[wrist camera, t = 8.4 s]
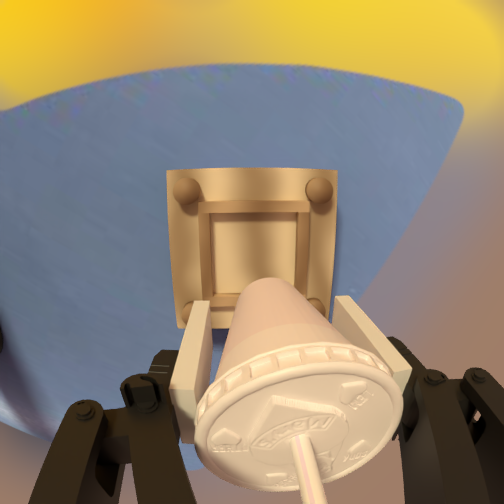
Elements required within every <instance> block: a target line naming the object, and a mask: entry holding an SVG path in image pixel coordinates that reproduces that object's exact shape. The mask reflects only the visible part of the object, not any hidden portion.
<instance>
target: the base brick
mask: <svg viewBox="0 0 504 504" xmlns="http://www.w3.org/2000/svg"><path fill="white" fill-rule="evenodd" d="M167 203H168V225H169V242H170V256H171V269H172V280H173V290H174V300H175V309H176V318H177V326H178V328H186V326H187V323H188V320H189V316H190V313H191V310H192V306H193V303H194V301H210V314H211V328H230V325H231V322H232V318H233V315H234V311H235V308H236V304H237V301H238V298H239V296H240V294H241V292H242V291H243V290H244V289H245V288H246V287H247V286H248V285H249V284H251V283H252V282H254V281H256V280H259V279H262V278H271V277H272V278H279V279H283V280H285V281H287V282H289V283H290V284H291V285H293V286H294V287H295V288H296V289H297V290H298V291H299V292H300V293H301V294H302V295H303V296H304V297H305V298H306V299H307V300H308V301H309V302H310V303H311V304H312V305H313V306H314V307H315V308H316V309H317V310H318V311H319V312H320V313H321V314H322V315H323V316H324V317H325V318H326V319H327V320H328V317H329V308H330V298H331V288H332V277H333V264H334V250H335V233H336V211H337V170H323V169H300V168H207V169H183V170H167Z"/></svg>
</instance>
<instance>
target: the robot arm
mask: <svg viewBox="0 0 504 504" xmlns="http://www.w3.org/2000/svg"><path fill="white" fill-rule="evenodd" d="M332 325H333V326H334V328H335V329H336V330H337V331H338V332H339V333H340V334H341V335H342V336H343V337H345V338H346V339H347V340H348V341H349V342H350V343H351V344H352V345H354V346H357V347H359V348H362V349H364V350H367V351H369V352H372V353H373V354H375V355H376V356H377V357H378V358H379V359H380V360H381V361H382V362H383V363H384V364H385V365H387V367H388V369H389V371H390V374H391V376H392V378H393V379H394V380H395V382H396V383H397V385H398V386H399V388H400V390H401V393H402V397H403V412H402V417H401V420H400V423H399V425H398V427H397V429H396V431H395V432H394V434H393V436H392V440H395V438H396V436H397V434H398V435H399V439H398V440H399V442H400V450H401V458H402V469H403V481H404V495H405V504H504V388H503V387H502V386H501V385H500V384H499V383H498V382H497V381H496V380H495V379H494V378H493V377H492V376H491V375H490V373H488V372H487V371H486V370H483V369H482V368H470V369H468V370H466V372H465V374H464V376H463V379H448V378H447V376H446V375H445V374H443V373H442V372H440V371H437V370H432V369H426V368H425V367H424V366H423V365H422V363H421V362H420V361H419V360H418V359H417V358H416V357H415V356H414V355H413V354H412V352H411V351H410V350H409V349H407V347H406V346H405V345H404V344H403V343H402V342H401V341H400V340H398V339H396V338H394V337H385V336H384V335H383V333H382V332H381V331H380V330H379V329H378V328H377V327H376V326H375V324H374V323H373V322H372V321H371V320H370V319H369V318H368V317H367V315H366V314H365V313H364V312H363V311H362V310H361V309H360V308H359V307H358V305H357V304H356V303H355V302H354V301H353V300H352V299H351V298H350V296H349V295H348V296H335V301H334V310H333V319H332ZM2 346H3V339H2V333H1V329H0V352H1V350H2ZM212 352H213V342H212V328H211V314H210V301H194V303H193V306H192V310H191V313H190V316H189V320H188V323H187V326H186V330H185V333H184V336H183V340H182V343H181V347H180V350H161V351H160V352H159V353H158V354H157V355H155V356H154V359H153V361H152V364H151V366H150V369H149V372H148V374H136V375H132V376H130V377H128V378H126V379H125V380H124V381H123V382H122V383H121V387H120V391H121V394H122V397H123V400H124V403H125V405H126V407H124V408H118V409H109V410H103V408H102V406H101V404H99V403H98V402H97V401H93V400H81V401H77V402H75V403H74V404H72V405H71V406H70V407H69V408H68V410H67V412H66V414H65V416H64V418H63V420H62V422H61V424H60V427H59V429H58V431H57V433H56V435H55V438H54V440H53V442H52V444H51V447H50V449H49V451H48V454H47V456H46V458H45V461H44V463H43V466H42V468H41V471H40V473H39V476H38V478H37V481H36V483H35V486H34V489H33V492H32V494H31V497H30V500H29V503H28V504H118V503H119V497H120V491H121V484H122V480H123V474H124V469H125V464H128V463H132V470H133V476H134V483H135V488H136V495H137V501H138V504H197V502H196V499H195V496H194V493H193V490H192V487H191V484H190V482H189V478H188V476H187V472H186V469H185V465H184V462H183V459H182V455H181V452H180V449H179V445H178V444H179V438H180V437H181V441H182V443H187V444H194V435H195V425H194V421H195V415H196V410H197V405H198V403H199V401H200V400H201V398H202V397H203V395H204V393H205V392H206V390H207V389H208V387H209V380H210V371H211V361H212ZM477 411H479V412H480V414H481V416H480V418H479V420H478V421H476V420H475V419H474V416H475V414H476V412H477Z"/></svg>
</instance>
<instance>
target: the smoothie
mask: <svg viewBox="0 0 504 504" xmlns="http://www.w3.org/2000/svg"><path fill="white" fill-rule="evenodd" d="M402 412H403V397H402V393H401V390H400V388H399V386H398V385H397V383H396V382H395V380H394V379H393V378H392V376H391V374H390V371H389V369H388V367H387V365H385V364H384V363H383V362H382V361H381V360H380V359H379V358H378V357H377V356H376V355H375V354H373V353H372V352H369V351H367V350H364V349H362V348H359V347H357V346H354V345H352V344H351V343H350V342H349V341H348V340H347V339H346V338H345V337H343V336H342V335H341V334H340V333H339V332H338V331H337V330H336V329H335V328H334V326H333V325H332V324H331V323H330V322H329V321H328V320H327V319H326V318H325V317H324V316H323V315H322V314H321V313H320V312H319V311H318V310H317V309H316V308H315V307H314V306H313V305H312V304H311V303H310V302H309V301H308V300H307V299H306V298H305V297H304V296H303V295H302V294H301V293H300V292H299V291H298V290H297V289H296V288H295V287H294V286H293V285H291V284H290V283H289V282H287V281H285V280H283V279H279V278H272V277H271V278H262V279H259V280H256V281H254V282H252V283H251V284H249V285H248V286H247V287H246V288H245V289H244V290H243V291H242V292H241V294H240V296H239V298H238V301H237V304H236V308H235V311H234V315H233V318H232V322H231V325H230V329H229V332H228V336H227V340H226V343H225V347H224V350H223V354H222V357H221V361H220V364H219V368H218V371H217V374H216V377H215V381H214V382H213V383H212V384H211V385H210V386H209V387H208V389H207V390H206V392H205V393H204V395H203V397H202V398H201V400H200V401H199V403H198V405H197V410H196V415H195V421H194V425H195V435H194V445H195V450H196V453H197V455H198V457H199V459H200V461H201V462H202V463H203V465H204V466H205V467H206V468H207V469H208V470H209V471H211V472H212V473H213V474H215V475H216V476H218V477H219V478H221V479H223V480H225V481H227V482H229V483H232V484H234V485H237V486H240V487H244V488H247V489H253V490H259V491H274V492H276V491H277V492H278V491H279V492H283V491H294V490H300V493H301V498H302V503H303V504H328V502H327V498H326V495H325V491H324V487H323V484H325V483H329V482H331V481H334V480H336V479H338V478H341V477H343V476H345V475H347V474H349V473H351V472H353V471H354V470H356V469H358V468H359V467H361V466H362V465H364V464H365V463H366V462H368V461H369V460H371V459H372V458H373V457H374V456H375V455H376V454H377V453H378V452H379V451H380V450H382V449H383V448H384V446H385V445H386V444H387V442H388V441H389V440H390V438H391V437H392V436H393V434H394V432H395V431H396V429H397V427H398V425H399V423H400V420H401V417H402Z"/></svg>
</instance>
